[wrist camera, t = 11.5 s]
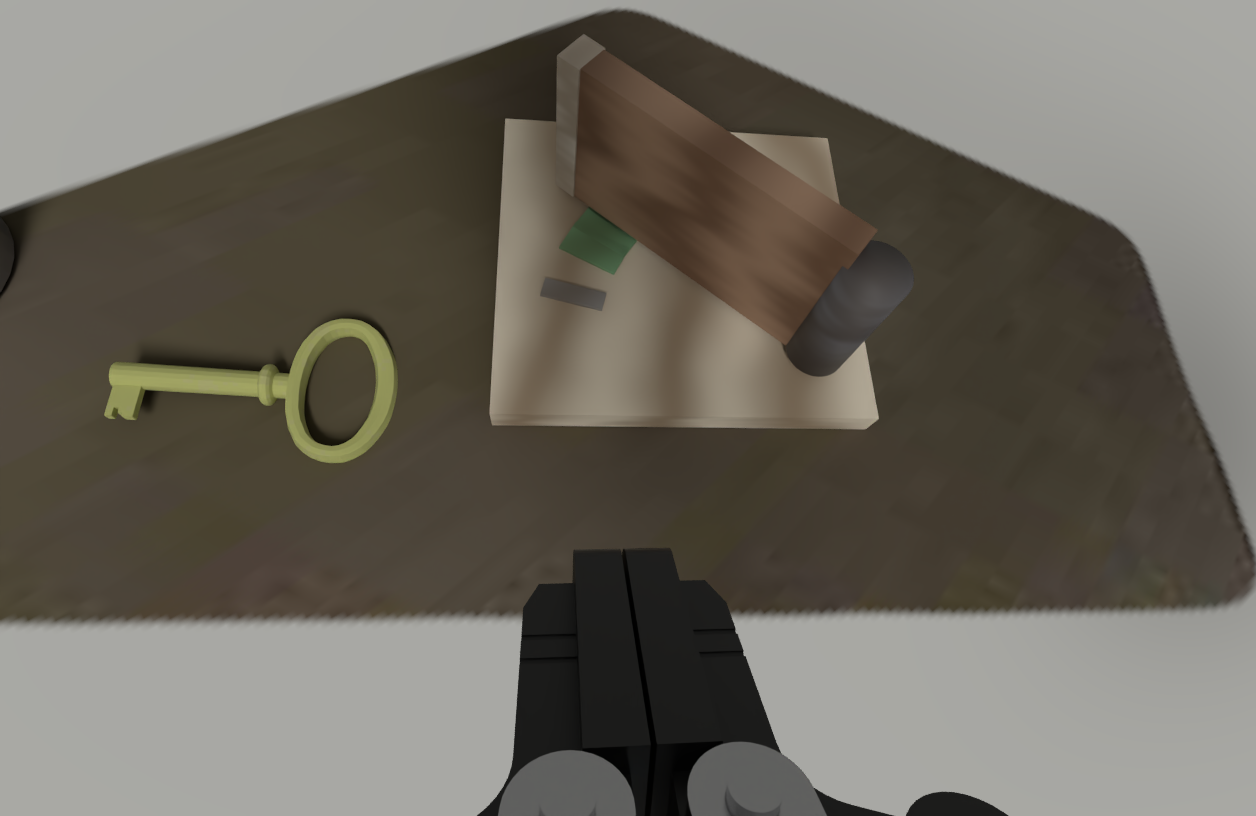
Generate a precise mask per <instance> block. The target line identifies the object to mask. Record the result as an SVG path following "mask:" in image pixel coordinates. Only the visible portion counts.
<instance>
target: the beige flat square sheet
mask: <svg viewBox="0 0 1256 816" xmlns="http://www.w3.org/2000/svg"><path fill="white" fill-rule="evenodd" d="M730 133H731V134H733V135H734V136H736V137H738V138H739V139H741V140H742V141H744V142H745V143H747V144H748V145H750V146H751V147H753V148H754V149H756V150H757V151H759V152H760V153H762V154H763V155H765V156H766V157H768V158H769V159H771V160H772V161H774V162H775V163H777V164H778V165H780V166H782V167H783V168H785V169H786V170H788V171H789V172H791V173H792V174H794V175H795V176H797V177H798V178H800V179H801V180H803V181H804V182H806V183H807V184H809V185H810V186H812V187H813V188H815V189H816V190H818V191H819V192H821V193H822V194H824V195H826V196H827V197H829V198H830V199H832V200H833V201H835V202H836V203H838V204H839V199H838V194H837V188H836V183H835V177H834V172H833V166H832V161H831V155H830V150H829V145H828V139H827V138H814V137H798V136H782V135H765V134H749V133H733V132H730ZM490 418H491V422H492V425H518V426H611V427H704V428H797V429H866V428H868V427H869V426H870V425H872V424H873V423H874V422H875V421H877V420H878V419H879V417H878V412H877V406H876V401H875V395H874V390H873V384H872V379H871V374H870V368H869V363H868V357H867V352H866V346H865V341H864V342H863V343H862V344H861V345H860V346H859V347H858V348H857V349H856V351H855V352H854V353H853V354H852V355H851V356H850V357H849V358H848V359H847V360H846V361H845V362H844V363H843V364H842V366H841V367H840V368H839V369H838V370H837V371H836V372H834V373H833V374H831V375H828V376H823V377H816V376H810V375H808V374H805V373H803V372H802V371H800V370H799V369H797V368H796V367H795V366H794V365H793V363H792V362H791V361H790V359H789V357H788V355H787V351H786V346H785V345H784V344H783V343H781V342H780V341H778V340H777V339H776V338H774V337H773V336H771V335H770V334H769V333H767V332H766V331H764V330H763V329H761V328H760V327H759V326H757V325H756V324H754V323H753V322H752V321H750V320H749V319H747V318H746V317H745V316H743V315H742V314H740V313H739V312H737V311H736V310H735V309H733V308H732V307H730V306H729V305H728V304H726V303H725V302H723V301H722V300H721V299H719V298H718V297H716V296H715V295H713V294H712V293H711V292H709V291H708V290H706V289H705V288H704V287H702V286H701V285H699V284H698V283H697V282H695V281H694V280H692V279H691V278H689V277H688V276H687V275H685V274H684V273H682V272H681V271H680V270H678V269H677V268H675V267H674V266H673V265H671V264H670V263H668V262H667V261H665V260H664V259H663V258H661V257H660V256H658V255H657V254H656V253H654V252H653V251H651V250H650V249H649V248H647V247H646V246H644V245H643V244H641V243H640V242H639V241H637V240H636V239H634V238H633V237H632V236H630V235H629V234H627V233H626V232H625V231H623V230H622V229H620V228H619V227H618V226H616V225H615V224H613V223H612V222H610V221H609V220H608V219H606V218H605V217H603V216H602V215H601V214H599V213H598V212H596V211H595V210H594V209H592V208H591V207H589V206H588V205H586V204H585V203H584V202H582V201H581V200H579V199H578V198H577V197H575V196H574V197H572V196H571V195H570V194H568V193H567V192H565V191H564V190H563V189H561V188H560V187H558V186H557V185H556V122H553V121H537V120H521V119H505V136H504V155H503V173H502V192H501V211H500V229H499V248H498V266H497V285H496V304H495V322H494V341H493V359H492V378H491V396H490Z"/></svg>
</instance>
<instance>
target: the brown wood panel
mask: <svg viewBox="0 0 1256 816" xmlns="http://www.w3.org/2000/svg"><path fill="white" fill-rule="evenodd" d="M556 185H557V186H558V187H560V188H561V189H563V190H564V191H565V192H567V193H568V194H570V195H571V196H572V197H574V196H575V197H577V198H578V199H579V200H581V201H582V202H584V203H585V204H586V205H588V206H589V207H591V208H592V209H594V210H595V211H596V212H598V213H599V214H601V215H602V216H603V217H605V218H606V219H608V220H609V221H610V222H612V223H613V224H615V225H616V226H618V227H619V228H620V229H622V230H623V231H625V232H626V233H627V234H629V235H630V236H632V237H633V238H634V239H636V240H637V241H639V242H640V243H641V244H643V245H644V246H646V247H647V248H649V249H650V250H651V251H653V252H654V253H656V254H657V255H658V256H660V257H661V258H663V259H664V260H665V261H667V262H668V263H670V264H671V265H673V266H674V267H675V268H677V269H678V270H680V271H681V272H682V273H684V274H685V275H687V276H688V277H689V278H691V279H692V280H694V281H695V282H697V283H698V284H699V285H701V286H702V287H704V288H705V289H706V290H708V291H709V292H711V293H712V294H713V295H715V296H716V297H718V298H719V299H721V300H722V301H723V302H725V303H726V304H728V305H729V306H730V307H732V308H733V309H735V310H736V311H737V312H739V313H740V314H742V315H743V316H745V317H746V318H747V319H749V320H750V321H752V322H753V323H754V324H756V325H757V326H759V327H760V328H761V329H763V330H764V331H766V332H767V333H769V334H770V335H771V336H773V337H774V338H776V339H777V340H778V341H780V342H781V343H783V344H784V345H785V346H786V351H787V355H788V357H789V359H790V361H791V362H792V363H793V365H794V366H795V367H796V368H797V369H799V370H800V371H802V372H803V373H805V374H808V375H810V376H816V377H823V376H828V375H831V374H833V373H834V372H836V371H837V370H838V369H839V368H840V367H841V366H842V364H843V363H844V362H845V361H846V360H847V359H848V358H849V357H850V356H851V355H852V354H853V353H854V352H855V351H856V349H857V348H858V347H859V346H860V345H861V344H862V343H863V342H864V341H865V340H866V339H867V338H868V337H869V336H870V334H871V333H872V332H873V331H874V330H875V329H876V328H877V327H878V326H879V325H880V324H881V323H882V322H883V321H884V319H885V318H886V317H887V316H888V315H889V314H890V313H891V312H892V311H893V310H894V309H895V308H896V307H897V306H898V304H899V303H900V302H901V301H902V300H903V299H904V298H905V297H906V296H907V295H908V294H909V292H910V291H911V289H912V286H913V282H914V275H913V270H912V267H911V265H910V263H909V262H908V260H907V259H906V257H905V256H904V255H903V254H902V253H901V252H900V251H898V250H897V249H896V248H894V247H892V246H891V245H888V244H886V243H883V242H879V241H873V240H871V239H872V238H873V236H874V235H875V233H876V232H877V231H878V230H877V229H876V228H874V227H873V226H871V225H870V224H868V223H866V222H865V221H863V220H862V219H860V218H859V217H857V216H856V215H854V214H853V213H851V212H850V211H848V210H847V209H845V208H844V207H842V206H841V205H839V204H838V203H836V202H835V201H833V200H832V199H830V198H829V197H827V196H826V195H824V194H822V193H821V192H819V191H818V190H816V189H815V188H813V187H812V186H810V185H809V184H807V183H806V182H804V181H803V180H801V179H800V178H798V177H797V176H795V175H794V174H792V173H791V172H789V171H788V170H786V169H785V168H783V167H782V166H780V165H778V164H777V163H775V162H774V161H772V160H771V159H769V158H768V157H766V156H765V155H763V154H762V153H760V152H759V151H757V150H756V149H754V148H753V147H751V146H750V145H748V144H747V143H745V142H744V141H742V140H741V139H739V138H738V137H736V136H734V135H733V134H731V133H730V132H728V131H727V130H725V129H724V128H722V127H721V126H719V125H718V124H716V123H715V122H713V121H712V120H710V119H709V118H707V117H706V116H704V115H703V114H701V113H700V112H698V111H697V110H695V109H694V108H692V107H691V106H689V105H687V104H686V103H684V102H683V101H681V100H680V99H678V98H677V97H675V96H674V95H672V94H671V93H669V92H668V91H666V90H665V89H663V88H662V87H660V86H659V85H657V84H656V83H654V82H653V81H651V80H650V79H648V78H647V77H645V76H643V75H642V74H640V73H639V72H637V71H636V70H634V69H633V68H631V67H630V66H628V65H627V64H625V63H624V62H622V61H621V60H619V59H618V58H616V57H615V56H613V55H612V54H610V53H609V52H607V51H606V50H605V48H604V47H603V46H601V45H600V44H598V43H597V42H595V41H594V40H592V39H591V38H589V37H588V36H586V35H584V34H583V35H582V36H581V37H579V38H578V39H577V40H576V41H574V42H573V43H572V44H571V45H569V46H568V47H567V48H566V49H564V50H563V51H562V52H561V53H559V54H558V55H557V110H556Z"/></svg>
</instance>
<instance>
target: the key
mask: <svg viewBox="0 0 1256 816" xmlns="http://www.w3.org/2000/svg"><path fill="white" fill-rule="evenodd" d="M343 337H357V338H359V339H361V340H363V341H364V342H365V343H366V344H367V346H368V348H369V350H370V352H371V355H372V358H373V361H374V364H375V372H376V388H375V395H374V401H373V404H372V407H371V410H370V412H369V415H368V418H367V420H366V421H365V423H364V424H363V426H362V428H361V429H360V430H359V431H358V433H357V434H356V435H355V436H354V437H353V438H352V439H350V440H349V441H347V442H345V443H343V444H340V445H337V446H327V445H322V444H319V443H317V442H315V441H314V439H313V438H312V437H311V436H310V433H309V430H308V428H307V425H306V421H305V415H304V405H305V394H306V388H307V384H308V380H309V377H310V374H311V371H312V368H313V366H314V364H315V362H316V360H317V359H318V357H319V355H320V354H321V353H322V351H323V350H324V349H325V348H326V347H327V345H328V344H330V343H331V342H333V341H334V340H337V339H339V338H343ZM109 380H110V384H111V385H112V386H113V388H112V391H111V394H110V397H109V401H108V404H107V407H106V410H105V414H104V415H105V416H106V417H107V418H110V419H116V416H117V413H119V414H120V415H122V417H123V418H125V419H128V420H137V417H138V413H139V410H140V407H141V403H142V400H143V396H144V393H145V390H156V391H172V392H188V393H204V394H220V395H236V396H252V397H259V400H260V401H261V403H262V404H264V405H267V406H269V405H272V404H274V403H275V401H276V400H277V398H284V399H286V402H285V412H286V418H287V424H288V429H289V432H290V434H291V436H292V438H293V440H294V443H295V445H296V446H297V447H298V448H299V449H300V450H301V451H302V452H303V453H305V454H306V455H308V456H309V457H311V458H313V459H315V460H318V461H321V462H327V463H343V462H346V461H349V460H352V459H355V458H356V457H358V456H360V455H362V454H363V453H365V452H366V451H367V450H368V449H369V448H370V447H372V446H373V444H374V443H375V442H376V441H377V440H378V438H379V437H380V436H381V435H382V433H383V432H384V430H385V429H386V427H387V425H388V423H389V421H390V418H391V416H392V412H393V409H394V405H395V400H396V395H397V384H398V376H397V365H396V361H395V358H394V355H393V352H392V350H391V348H390V346H389V345H388V343H387V341H386V340H385V339H384V338H383V336H382V335H381V334H380V333H379V332H378V331H377V330H375V329H374V328H373V327H372V326H370V325H369V324H367V323H365V322H363V321H360V320H354V319H338V320H332V321H330V322H327V323H325V324H323V325H321V326H320V327H318V328H316V329H315V330H314V331H313V332H312V333H311V334H310V335H309V336H308V337H307V338H306V340H305V341H304V342H303V343H302V345H301V347H300V348H299V350H298V352H297V353H296V356H295V359H294V361H293V364H292V367H291V370H290V374H288V373H279V370H278V369H277V367H276V366H275V365H272V364H267V365H265V366H264V367H263V368H262V369H261V371H260V372H259V371H245V370H231V369H216V368H202V367H187V366H173V365H158V364H144V363H130V362H114V363H113V364H112V366H111V368H110V372H109Z"/></svg>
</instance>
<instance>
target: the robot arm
mask: <svg viewBox="0 0 1256 816" xmlns="http://www.w3.org/2000/svg"><path fill="white" fill-rule="evenodd" d="M13 261H14V241H13V239H12V236H11V233H10V230H9V228H8V226H7V225H6V224H5V222H4V221H3V220H2V218H1V217H0V292H1V291H2V289H3V287H4V285H5V283H6V281H7V279H8V278H9V276H10V273H11V269H12V265H13ZM477 816H893V815H889V814H885V813H881V812H877V811H873V810H869V809H865V808H861V807H857V806H854V805H850V804H847V803H844V802H841V801H838V800H836V799H833V798H831V797H829V796H827V795H825V794H823V793H822V792H820V791H818V790H817V789H815V788H813V786H812V784H811V783H810V781H809V779H808V778H807V777H806V775H805V774H804V773H803V772H802V770H801V769H800V768H799V767H798V766H797V765H795V764H794V763H793V762H792V761H791V760H790V759H788V758H787V757H785V756H784V755H782V754H781V752H780V750H779V747H778V745H777V743H776V740H775V738H774V735H773V732H772V729H771V726H770V724H769V721H768V718H767V715H766V712H765V710H764V707H763V704H762V701H761V698H760V695H759V693H758V690H757V687H756V685H755V682H754V679H753V676H752V673H751V670H750V668H749V665H748V662H747V659H746V657H745V656H744V655H743V648H742V645H741V643H740V640H739V637H738V634H736V632H735V626H734V623H733V620H732V617H731V615H730V612H729V609H728V606H727V603H726V602H725V601H724V600H723V599H722V597H721V596H720V595H719V594H718V593H717V592H716V591H715V590H714V589H713V588H712V587H711V586H710V585H709V584H708V583H707V582H706V581H705V580H693V581H680V580H679V577H678V573H677V569H676V566H675V562H674V558H673V555H672V551H671V549H670V548H638V549H623V552H622V554H621V550H620V549H588V550H574V552H573V583H564V584H539V585H538V587H537V588H536V590H535V591H534V593H533V594H532V596H531V597H530V599H529V600H528V602H527V603H526V605H525V606H524V608H523V621H522V639H521V651H520V665H519V680H518V694H517V710H516V724H515V738H514V753H513V761H512V767H511V770H510V773H509V776H508V779H507V781H506V782H505V784H504V787H503V788H502V790H501V791H500V793H499V794H498V795H497V797H496V798H495V799H494V800H493V801H492V802H491V803H490V805H489V806H488V807H487V808H486V809H484V810H483V811H482V812H481V813H480V814H478V815H477ZM906 816H1008V815H1007V814H1005V813H1004V812H1002V811H1000V810H999V809H997V808H995V807H994V806H992V805H990V804H988V803H986V802H984V801H981V800H980V799H977V798H974V797H971V796H968V795H965V794H960V793H955V792H937V793H931V794H928V795H925V796H923V797H921V798H920V799H918V800H916V802H914V804H913V805H912V806H911V807H910V808H909V811H908V813H907V814H906Z"/></svg>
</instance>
